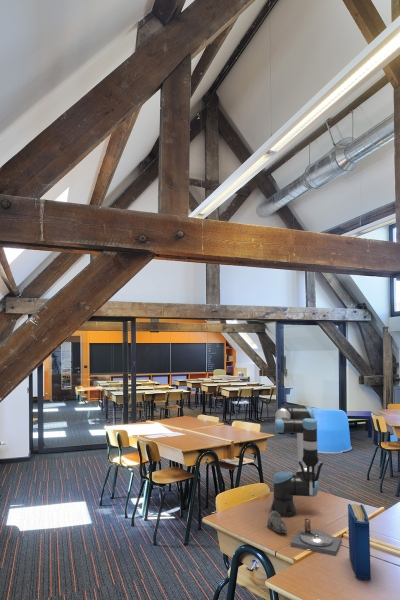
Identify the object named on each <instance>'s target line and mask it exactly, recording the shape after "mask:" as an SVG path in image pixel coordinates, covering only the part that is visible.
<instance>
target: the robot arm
mask: <svg viewBox="0 0 400 600" xmlns="http://www.w3.org/2000/svg"><path fill="white" fill-rule="evenodd" d="M274 417H275V419H274V431H275V433H281V434H282V433H286V434H287V433H288V434H289V433H291V434H292V433H293V434H296V440H297V441H296V442H297V443H296V445H297V446H296V447H297V464H298V465H297V466H298V467H297V470H296V471H295V474H293V472H292V471H288V470H287V471H285V470H284V471H282V470H281V471H279V472H275V473H274V475H273V480H272V483H273V499H272V503H271V507H270V513H271V512H272V511H277V513H279V514H280V516H281V518H291V517H295V516H296V515H297V509H296V508H297V507H296V505H295V501H294V496H295V497H308V498H310V497H316V496H317V494H318V490H319V478H320V473H321V470H322V467H323V465H324V464H323V462H322V461H320V460H319V457H318V455H319V454H318V421H317V420H316V418H315V412H314V409H313V408H312V406H310V405H284V406H281V407H279V408H278V409H276V411H275V414H274ZM317 465H318V466H317ZM315 466H317V470H316V472H315Z"/></svg>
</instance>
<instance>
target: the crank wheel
mask: <svg viewBox="0 0 400 600" xmlns="http://www.w3.org/2000/svg"><path fill="white" fill-rule="evenodd" d="M311 526H312V524H311V519H309V518H304V530H302V531H303V532H301V533H300V539H301V541H302V542H304V543H306V544H308V545H312V546H319V547H323V546H329V545H331V544H332V543H333V537H334V536H333V535H331V533H329V532H325V531H323V530H318V529H311V528H312V527H311ZM332 536H333V537H332Z"/></svg>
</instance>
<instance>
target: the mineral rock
mask: <svg viewBox="0 0 400 600" xmlns="http://www.w3.org/2000/svg"><path fill="white" fill-rule="evenodd" d="M266 522H267V523H266V527H267V528H269V529H271V530H272V531H275V532H276V533H282V534H288V530H287V526H286V523H285V522H284V521H283V519H282V517H281V516H280V514H279V513H277V511H272V512H271V511H270V514H269V515H268V518H267V521H266Z"/></svg>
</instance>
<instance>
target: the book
mask: <svg viewBox="0 0 400 600" xmlns="http://www.w3.org/2000/svg"><path fill="white" fill-rule="evenodd" d="M347 518H348V519H347V520H348V522H347V523H348V525H347V526H348V527H347V528H348V556H349V560H350V565H351V567H352V568H351V569H352V571H353V572H354V576H355V577H356V578H357V579H360V580H371V579H372V578H371V577H372V574H371V573H372V572H371V543H370V542H371V540H370V536H371V535H370V521H369V516H368V514H367V511H366V509H365V507H364V505H362V504H360V505H359V504H356V503H354V504H351V503H348V504H347Z"/></svg>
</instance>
